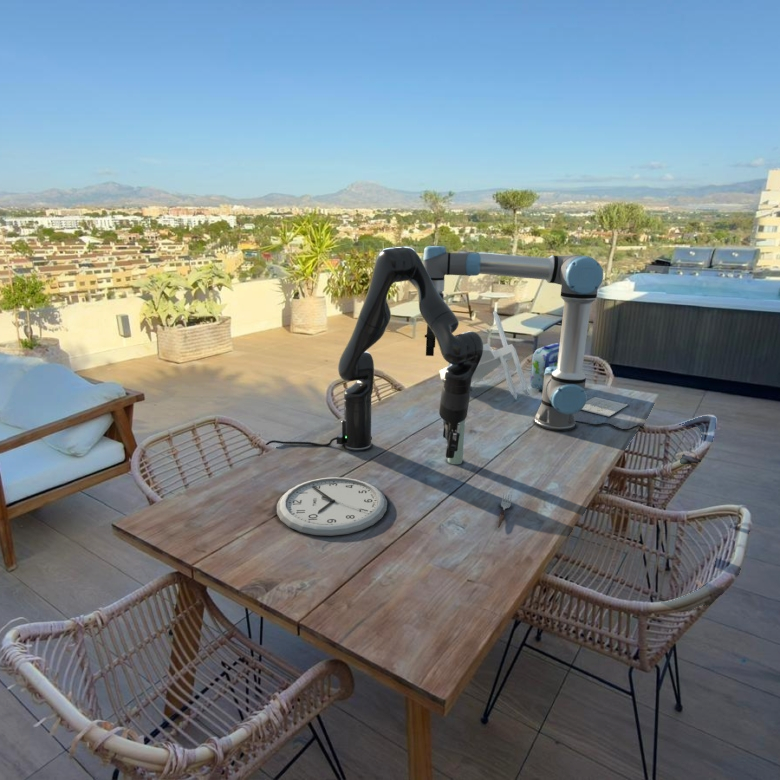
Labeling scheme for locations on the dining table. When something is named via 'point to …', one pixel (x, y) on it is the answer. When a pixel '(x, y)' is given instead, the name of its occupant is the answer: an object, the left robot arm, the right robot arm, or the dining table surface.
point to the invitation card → (603, 406)
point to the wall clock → (331, 506)
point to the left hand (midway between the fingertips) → (448, 447)
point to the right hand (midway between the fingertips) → (430, 351)
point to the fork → (504, 505)
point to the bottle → (459, 446)
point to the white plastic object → (497, 362)
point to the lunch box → (543, 363)
